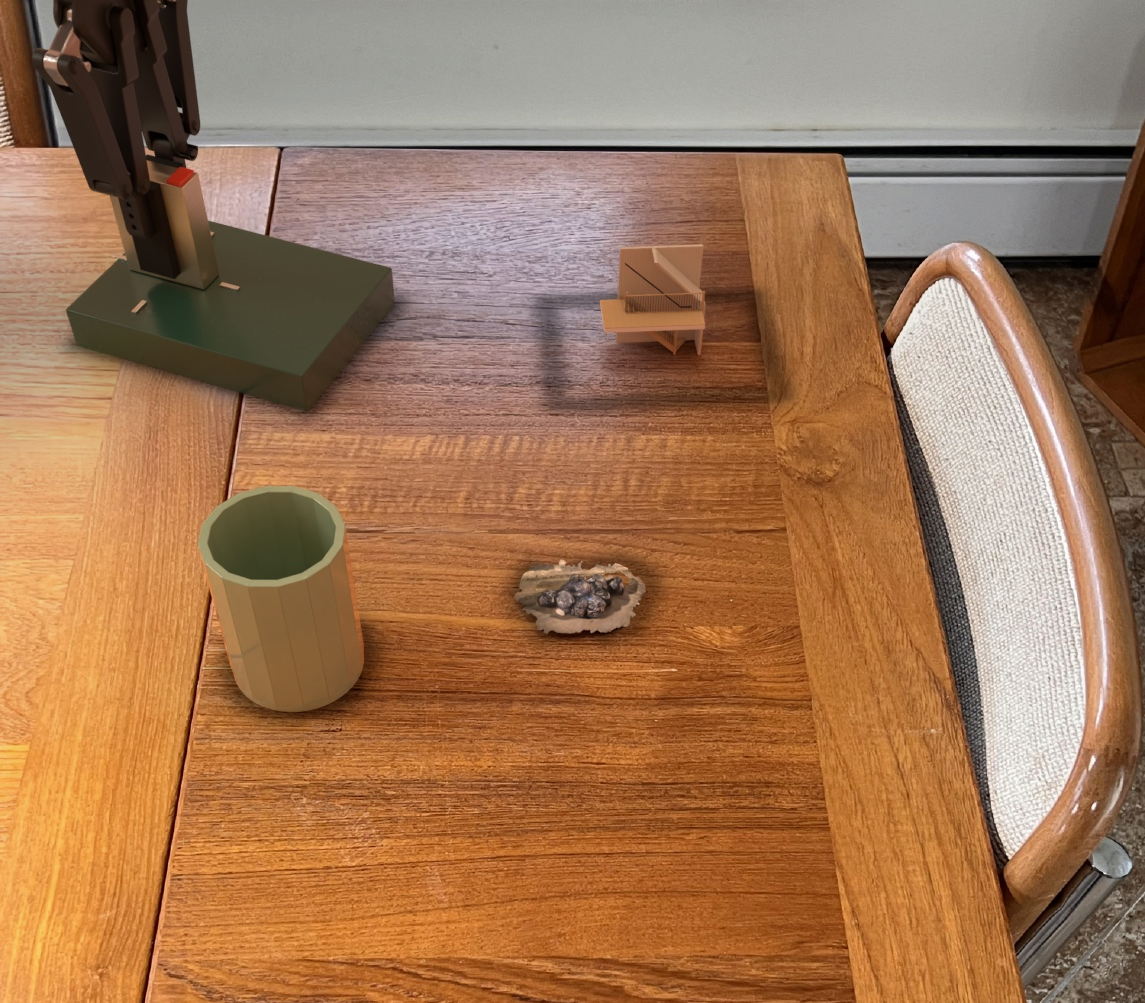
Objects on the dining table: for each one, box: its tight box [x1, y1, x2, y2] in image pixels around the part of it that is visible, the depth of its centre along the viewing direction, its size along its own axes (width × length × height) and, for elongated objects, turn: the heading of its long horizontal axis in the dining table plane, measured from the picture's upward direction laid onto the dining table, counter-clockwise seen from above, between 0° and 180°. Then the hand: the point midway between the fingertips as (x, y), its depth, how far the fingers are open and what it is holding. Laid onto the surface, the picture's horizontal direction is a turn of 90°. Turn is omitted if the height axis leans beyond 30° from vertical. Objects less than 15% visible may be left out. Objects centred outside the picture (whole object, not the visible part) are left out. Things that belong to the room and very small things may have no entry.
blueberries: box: [513, 559, 647, 634], centre depth 83 cm, size 7×8×2 cm
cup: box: [197, 485, 365, 713], centre depth 77 cm, size 7×7×10 cm
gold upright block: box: [109, 161, 219, 290], centre depth 95 cm, size 6×2×8 cm, turn 68°
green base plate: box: [65, 220, 396, 413], centre depth 98 cm, size 19×13×3 cm
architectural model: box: [599, 243, 707, 356], centre depth 95 cm, size 3×7×7 cm, turn 95°
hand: (171, 260), depth 97 cm, fingers closed on gold upright block, 2 cm apart
